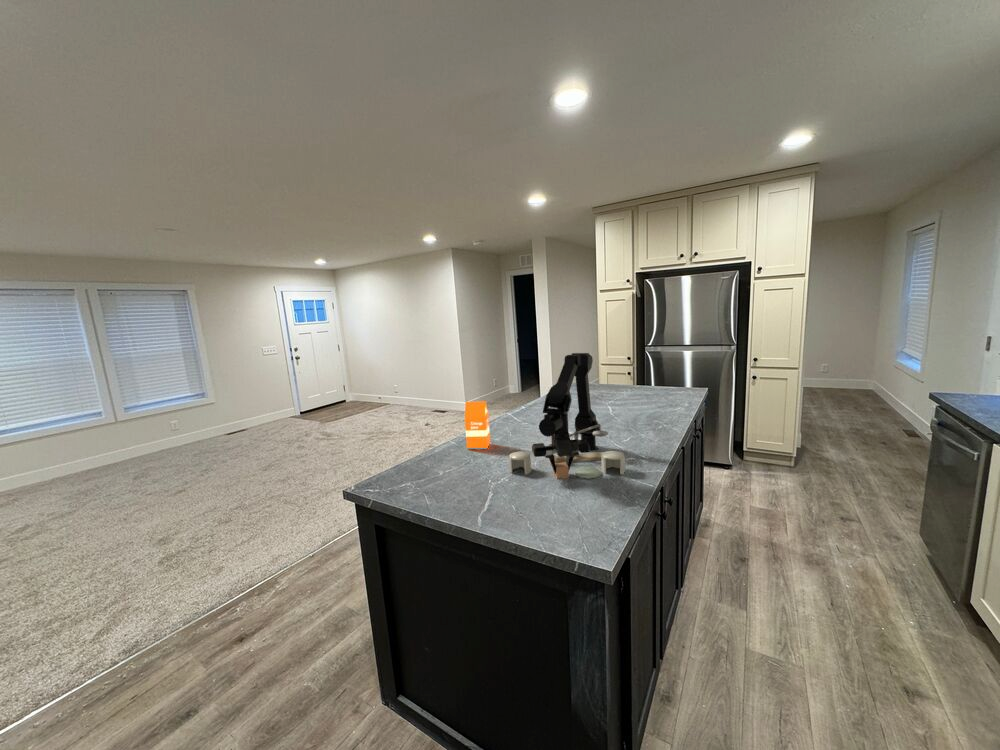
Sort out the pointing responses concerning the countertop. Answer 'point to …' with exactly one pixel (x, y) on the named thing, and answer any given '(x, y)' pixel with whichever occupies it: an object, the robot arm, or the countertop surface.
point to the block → (562, 470)
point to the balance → (581, 456)
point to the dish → (587, 472)
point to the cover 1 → (520, 461)
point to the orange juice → (477, 425)
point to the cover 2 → (613, 460)
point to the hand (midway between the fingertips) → (561, 472)
